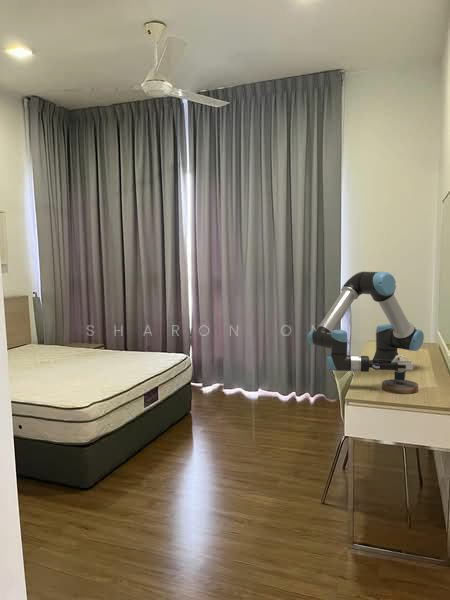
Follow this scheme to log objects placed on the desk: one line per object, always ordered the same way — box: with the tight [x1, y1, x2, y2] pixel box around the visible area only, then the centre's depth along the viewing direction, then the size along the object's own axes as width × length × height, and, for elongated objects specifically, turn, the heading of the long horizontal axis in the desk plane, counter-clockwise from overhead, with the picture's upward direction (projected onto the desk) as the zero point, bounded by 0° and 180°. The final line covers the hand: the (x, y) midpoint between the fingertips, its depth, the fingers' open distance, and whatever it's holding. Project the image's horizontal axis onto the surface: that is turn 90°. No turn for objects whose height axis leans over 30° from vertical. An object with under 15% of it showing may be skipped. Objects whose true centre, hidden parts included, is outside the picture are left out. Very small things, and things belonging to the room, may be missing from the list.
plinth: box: [381, 378, 419, 395], centre depth 224 cm, size 16×16×3 cm
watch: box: [391, 354, 410, 380], centre depth 223 cm, size 6×8×11 cm
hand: (412, 365), depth 222 cm, fingers closed on watch, 5 cm apart
